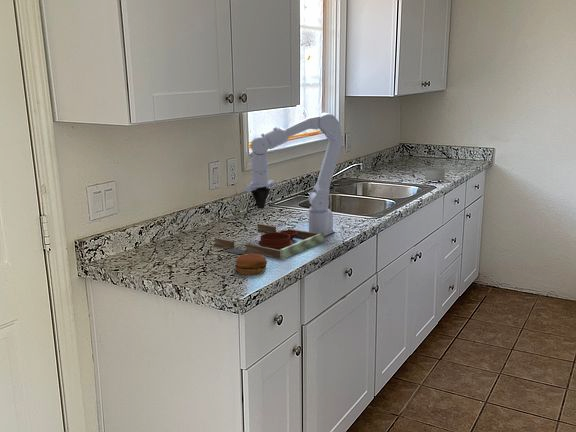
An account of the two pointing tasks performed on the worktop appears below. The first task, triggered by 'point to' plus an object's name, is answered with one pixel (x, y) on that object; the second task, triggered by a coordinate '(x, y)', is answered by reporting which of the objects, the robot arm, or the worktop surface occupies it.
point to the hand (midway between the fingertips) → (260, 208)
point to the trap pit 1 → (235, 251)
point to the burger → (250, 264)
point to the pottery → (277, 239)
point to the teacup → (435, 173)
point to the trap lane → (283, 253)
